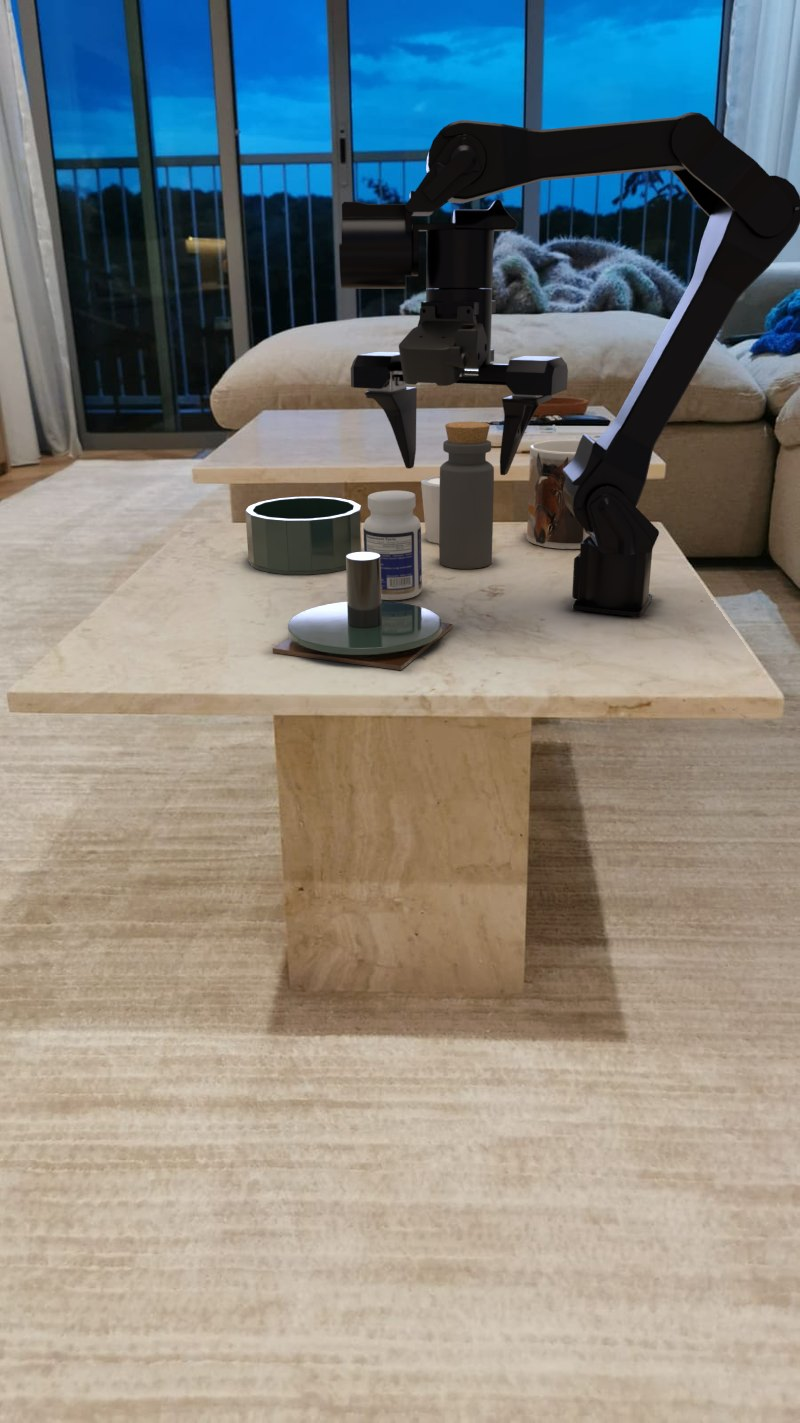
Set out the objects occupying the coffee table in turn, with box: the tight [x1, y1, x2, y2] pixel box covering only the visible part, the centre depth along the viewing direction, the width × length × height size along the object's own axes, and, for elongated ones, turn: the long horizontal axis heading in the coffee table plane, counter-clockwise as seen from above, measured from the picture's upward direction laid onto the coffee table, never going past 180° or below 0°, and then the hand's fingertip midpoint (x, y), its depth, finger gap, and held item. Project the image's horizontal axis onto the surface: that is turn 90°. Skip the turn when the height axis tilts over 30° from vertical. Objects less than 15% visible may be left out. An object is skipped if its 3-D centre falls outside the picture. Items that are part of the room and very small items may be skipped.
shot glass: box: [420, 476, 440, 545], centre depth 128 cm, size 7×7×7 cm
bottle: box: [438, 421, 495, 570], centre depth 116 cm, size 6×6×15 cm
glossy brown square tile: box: [272, 622, 453, 671], centre depth 95 cm, size 12×12×1 cm
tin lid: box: [286, 551, 443, 655], centre depth 93 cm, size 14×14×7 cm
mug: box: [526, 439, 639, 550], centre depth 125 cm, size 10×12×11 cm
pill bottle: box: [362, 490, 423, 601], centre depth 106 cm, size 6×6×10 cm
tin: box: [244, 496, 363, 576], centre depth 120 cm, size 13×13×6 cm
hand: (456, 471), depth 99 cm, fingers open, 9 cm apart
